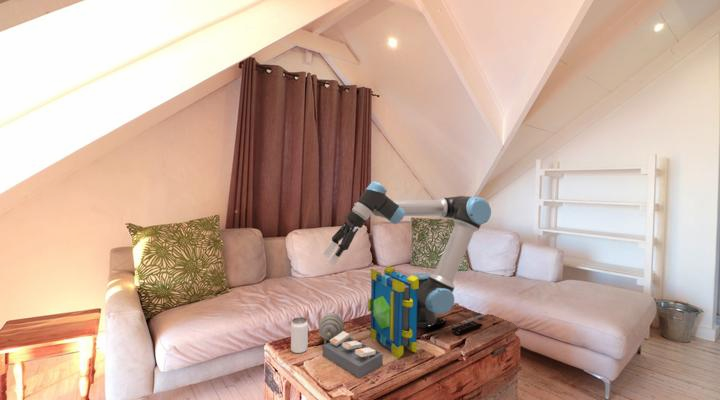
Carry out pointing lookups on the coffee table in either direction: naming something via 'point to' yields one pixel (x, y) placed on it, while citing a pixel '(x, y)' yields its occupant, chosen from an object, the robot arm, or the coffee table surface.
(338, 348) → the rocker switch panel
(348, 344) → the rocker
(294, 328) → the can
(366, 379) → the coffee table surface
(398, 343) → the decorative book
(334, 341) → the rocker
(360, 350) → the small box
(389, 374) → the coffee table surface
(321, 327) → the grey ribbed rounded piece
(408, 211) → the robot arm
